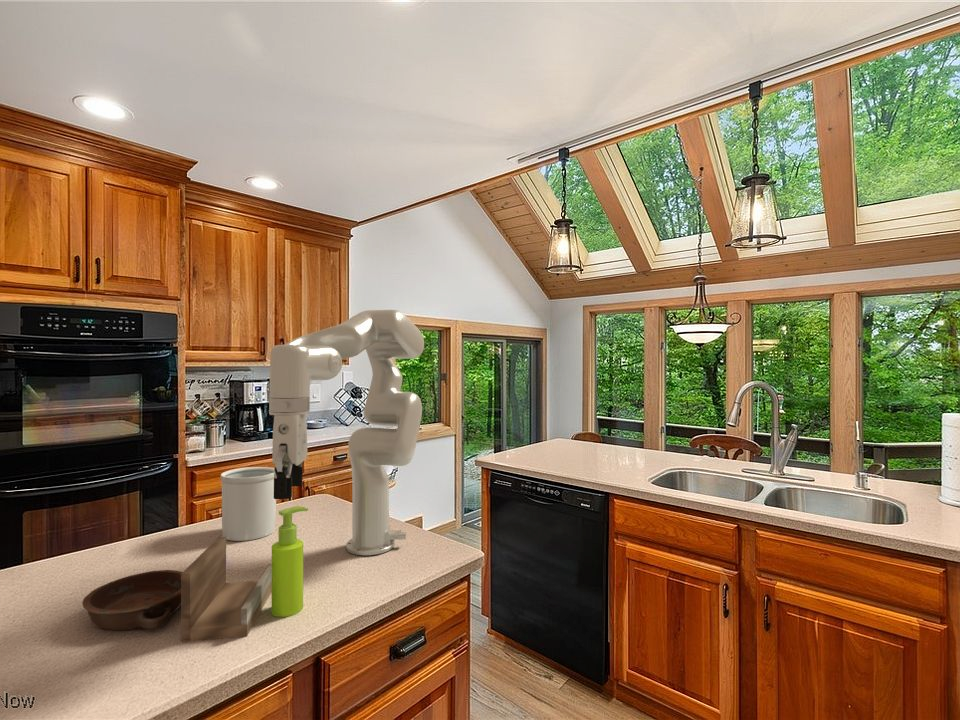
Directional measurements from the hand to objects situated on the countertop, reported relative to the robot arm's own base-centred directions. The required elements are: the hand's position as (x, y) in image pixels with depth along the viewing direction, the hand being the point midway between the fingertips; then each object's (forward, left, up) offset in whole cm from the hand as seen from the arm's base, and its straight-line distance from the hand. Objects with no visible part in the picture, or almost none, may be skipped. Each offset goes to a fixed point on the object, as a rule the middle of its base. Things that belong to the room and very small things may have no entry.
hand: (288, 492), depth 97 cm
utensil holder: (+21, -46, -24) cm, 56 cm away
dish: (+29, -3, -24) cm, 38 cm away
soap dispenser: (0, 0, -24) cm, 24 cm away
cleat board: (+11, 0, -24) cm, 26 cm away
